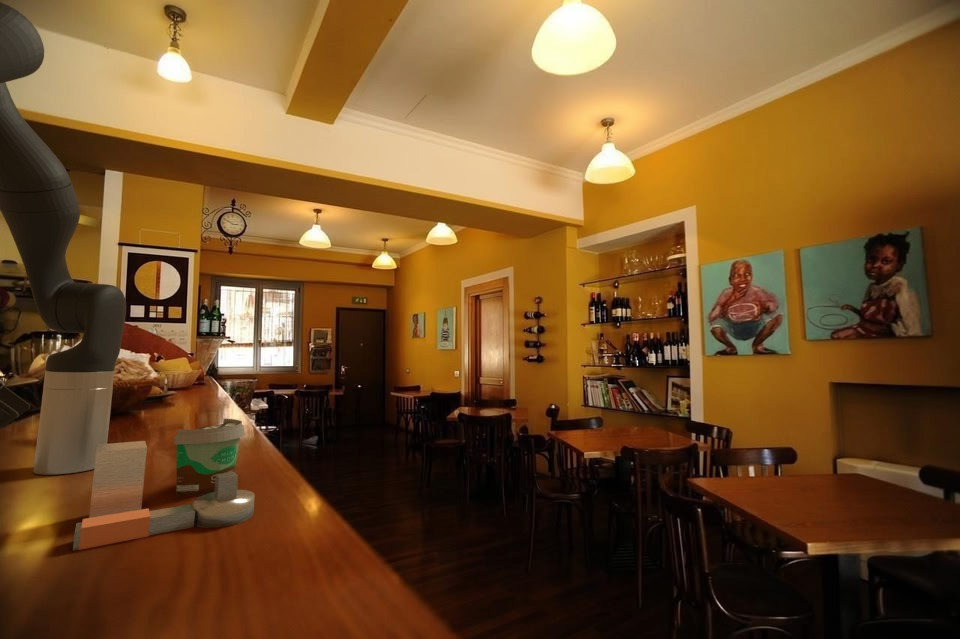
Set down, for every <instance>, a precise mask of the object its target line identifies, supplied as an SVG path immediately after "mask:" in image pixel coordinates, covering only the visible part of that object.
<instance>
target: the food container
mask: <svg viewBox="0 0 960 639" xmlns="http://www.w3.org/2000/svg"><path fill="white" fill-rule="evenodd" d="M245 435H246V432H245V426H244V425H243V421H242V420H240V419H237V418H236V419H234V418H223V423H221V424H219V425H218V424H217V425H214V426H213V425H212V426H211V425H207V426H202V427H200V428H197V429H177V434H175V438H174V442H173V444H174V445H176V482H175V483H176V485H175V487H176V488H175V497H196V496H198V497H199V496H203V495H205V494H209V493H213V492H215V480H216V474H222V473H229V472H235V470H236V464H237V460H238V452H239V446H240V441H241V439H240V438H242V437H244V436H245Z"/></svg>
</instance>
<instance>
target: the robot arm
mask: <svg viewBox="0 0 960 639" xmlns="http://www.w3.org/2000/svg"><path fill="white" fill-rule="evenodd" d="M44 59H45V47H44V42H43V40H42V38H41V35H40V33H39V32H38V30H37V28H36V27H35V25H33V23H32V22H31V21H30V20H29V19H28V17H26V16H25V15H24V14H23V13H21V12H20V11H19V10H17V9H16V8H14V7H12V6H10V5H8V4H6V3H4V2H1V1H0V212H1V215H2V216H3V218H4V220H5V223H6V224H7V226H8V229H9V231H10V234H11V236H12V239H13V241H14V243H15V246H16V248H17V251H18V254H19V256H20V259H21V262H22V264H23V267H24V270H25V273H26V277H27V279H28V284H29V288H30V290H31V294H32V297H33V300H34V304H35V306H36V310H37V312H38V315H39V317H40V318H41V320H42V322H43V323H44V324H45V326H46V327H47V328H49V329H51V330H53V331H55V332H58V333H67V334H71V333H72V334H83V335H82V338H81V340H80V341H79V343H77V344H76V345H74V346H73V347H70V348H68V349H66V350H65V349H64V350H61V351H58V352H55V353H52V354H50V355H49V356H48V357H47V359H46V362H45V368H44V369H45V373H44V379H43V387H42V388H43V390H42V397H41V406H40V413H39V414H40V415H39V421H38V422H39V423H38V429H37V430H38V431H37V440H36V447H35V455H34V462H33V463H34V464H33V473H34V474H37V475H45V476H46V475H63V474H74V473H80V472H85V471H90V470H94V468H95V458H96V450H97V445H99V444H108V439H109V438H108V437H109V436H108V435H109V427H110V418H111V411H112V410H111V409H112V399H113V398H112V397H113V390H114V380H115V370H116V369H115V368H116V363H117V360H118V358H119V356H120V353H121V352H120V351H121V346H122V339H123V333H124V328H125V324H126V323H125V322H126V317H127V301H126V297H125V294H124V292H123V290H121V289H120V288H119V287H118V286H115V285H114V284H113V285H111V284H105V283H88V282H76V281H75V280H73V278H72V276H71V274H70V272H69V267H68V265H67V260H66V255H67V250H68V248H69V245H70V242H71V241H72V238H73V236H74V234H75V233H76V230H77V228H78V226H79V224H80V220H81V219H80V218H81V207H80V204H79V201H78V198H77V195H76V192H75V189H74V186H73V183H72V180H71V178H70V174H68V171H67V170H66V167H65V166H64V165H63V163H62V162H61V160H60V159H59V158H58V156H57V155H56V154H55V153H54V152H53V151H52V150H51V148H50V147H49V146H48V145H47V144H46V143H45V142H44V141H43V139H42V138H41V137H40V136H39V135H38V134H37V133H36V131H35V130H34V129H33V128H32V127H31V126H30V125H29V123H27V121H26V119H25V118H24V117H23V115H22V114H21V113H20V111H19V110H18V108H17V105H16V104H15V102H14V100H13V97H12V96H11V93H10V91H9V90H10V89H9V88H8V85H7V83H9V82H12V81H15V80H19V79H23V78H25V77H26V78H27V77H28V76H31V75H33V74H34V73H35V72H37V71H38V70H39V69H40V68H41V66H42V64H43V62H44ZM30 408H31V404H30V402H29V403H28V402H27V401H26V400H25V399H23V398H22V397H21V396H19V395H18V394H16V393H15V392H14V391H12V390H11V389H10V388H8V387H7V386H6V383H5V382H4V379H3V377H2V376H1V375H0V429H3V428H5V427H6V426H7V425H9V424H10V423H12V422H13V421H15V420H16V419H18V417H20V416H21V415H23V414H25V413H26V412H27V411H28V410H30Z"/></svg>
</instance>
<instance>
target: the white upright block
mask: <svg viewBox="0 0 960 639" xmlns="http://www.w3.org/2000/svg"><path fill="white" fill-rule="evenodd" d="M147 450H148V446H147V442H146V440H138V441H127V442H126V441H125V442H114V443H113V442H112V443H107V444H99V445H97V450H96V458H95V468H94V469H93V478H92V486H91V497H90V507H89V515H88V518H92V517H98V516H105V515H111V514H117V513H123V512H129V511H135V510H141V509H142V505H143V496H144V495H143V494H144V493H143V492H144V483H145V472H146V462H147Z"/></svg>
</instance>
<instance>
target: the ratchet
mask: <svg viewBox="0 0 960 639" xmlns="http://www.w3.org/2000/svg"><path fill="white" fill-rule="evenodd" d="M238 480H239V475H238V474H237V473H236V472H235V471H234V472H229V473H222V474H216V480H215V492H213V493H209V494H205V495H199V496H198V497H197V498H195V499H194V500H193V503H191V504H184V505H179V506H172V507H166V508H161V509H155V510H150V509H149V507H148V508H141V510H135V511H129V512H123V513H117V514H111V515H105V516H98V517H92V518H89V517H87V518H83V519H82V522H81V521H80V522H77V523H76V525H75V530H74V536H73V545H72V551H76V550H79V551H81V550H86V549H90V548H95V547H101V546H107V545H111V544H115V543H116V544H117V543H120V542H121V543H123V542H126V541H132V540H136V539H143V538H146V537H149V536H154V535H159V534H164V533H169V532H173V531H180V530H185V529H190V528H194V527H198V528H203V529H216V528H224V527H225V528H226V527H230V526H234V525H238V524H240V523H243V522H245V521H248V520H249V519H251V518H252V517H253V516H254V511H255V510H254V509H255V507H254V506H255V498H256V497H255V496H256V494H255V493H254V492H253V491H250V490H247V489H238V483H239V482H238Z"/></svg>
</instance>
